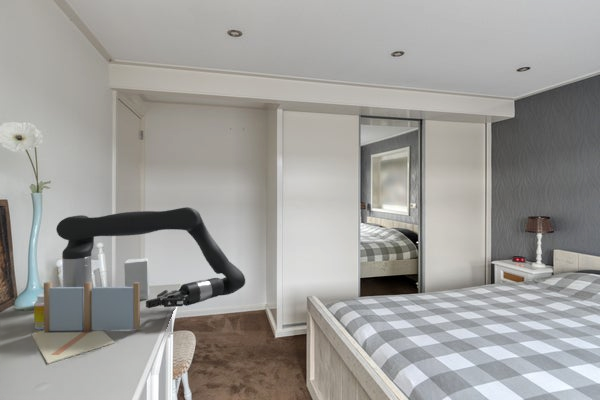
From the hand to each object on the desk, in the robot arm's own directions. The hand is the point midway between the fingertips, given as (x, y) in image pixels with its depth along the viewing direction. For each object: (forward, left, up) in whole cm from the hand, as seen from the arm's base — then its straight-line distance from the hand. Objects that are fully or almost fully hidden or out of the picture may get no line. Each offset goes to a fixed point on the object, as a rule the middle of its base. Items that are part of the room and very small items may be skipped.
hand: (146, 304), depth 100 cm
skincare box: (-29, +8, -7) cm, 31 cm away
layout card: (-7, -18, -7) cm, 21 cm away
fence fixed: (-13, -18, -7) cm, 23 cm away
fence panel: (-3, -8, -6) cm, 11 cm away
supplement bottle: (-23, -22, -7) cm, 33 cm away
